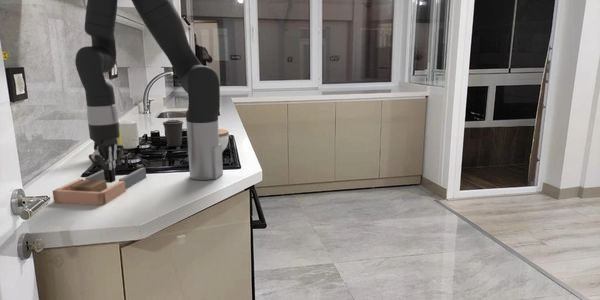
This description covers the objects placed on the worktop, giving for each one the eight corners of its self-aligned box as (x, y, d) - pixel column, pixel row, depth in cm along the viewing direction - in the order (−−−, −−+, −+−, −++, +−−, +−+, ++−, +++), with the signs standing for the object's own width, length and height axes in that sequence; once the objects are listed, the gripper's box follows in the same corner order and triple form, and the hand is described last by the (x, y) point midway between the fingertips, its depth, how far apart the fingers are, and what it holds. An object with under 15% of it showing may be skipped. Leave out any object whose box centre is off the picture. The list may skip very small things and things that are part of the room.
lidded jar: (226, 155, 153) (225, 130, 150) (197, 155, 153) (195, 129, 151) (231, 148, 163) (230, 124, 161) (204, 148, 163) (202, 124, 161)
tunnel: (146, 177, 127) (145, 167, 126) (124, 190, 115) (122, 179, 115) (111, 175, 129) (110, 166, 128) (86, 188, 117) (85, 177, 116)
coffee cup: (186, 146, 166) (184, 121, 164) (164, 147, 164) (162, 122, 161) (184, 142, 174) (182, 118, 171) (163, 143, 171) (161, 119, 169)
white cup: (133, 149, 161) (130, 124, 158) (114, 148, 162) (112, 123, 160) (144, 145, 168) (142, 120, 166) (126, 144, 170) (124, 119, 168)
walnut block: (107, 194, 113) (106, 180, 112) (93, 202, 107) (91, 187, 106) (87, 193, 114) (85, 179, 113) (72, 200, 108) (70, 186, 107)
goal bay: (125, 191, 114) (124, 181, 113) (102, 205, 104) (101, 193, 104) (80, 188, 116) (79, 178, 116) (54, 202, 106) (52, 190, 106)
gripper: (100, 126, 107) (108, 190, 111) (129, 117, 120) (135, 175, 124) (74, 125, 108) (83, 188, 113) (105, 117, 121) (112, 174, 125)
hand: (110, 181), depth 118 cm, fingers closed
